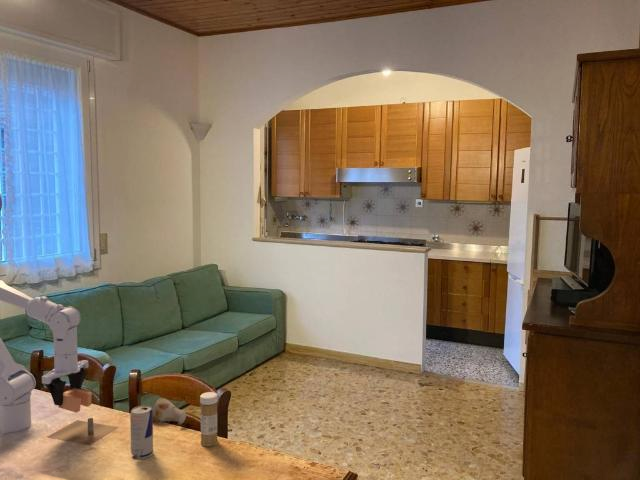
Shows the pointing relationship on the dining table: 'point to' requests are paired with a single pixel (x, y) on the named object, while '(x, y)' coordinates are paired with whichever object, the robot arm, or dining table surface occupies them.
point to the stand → (82, 432)
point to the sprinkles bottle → (208, 418)
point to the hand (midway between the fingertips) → (66, 400)
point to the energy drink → (141, 432)
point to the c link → (76, 399)
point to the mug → (167, 412)
